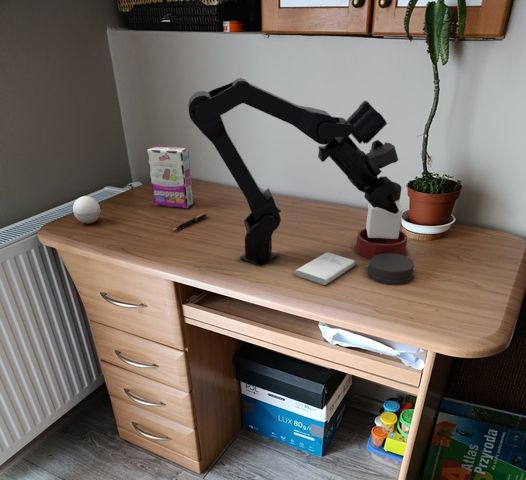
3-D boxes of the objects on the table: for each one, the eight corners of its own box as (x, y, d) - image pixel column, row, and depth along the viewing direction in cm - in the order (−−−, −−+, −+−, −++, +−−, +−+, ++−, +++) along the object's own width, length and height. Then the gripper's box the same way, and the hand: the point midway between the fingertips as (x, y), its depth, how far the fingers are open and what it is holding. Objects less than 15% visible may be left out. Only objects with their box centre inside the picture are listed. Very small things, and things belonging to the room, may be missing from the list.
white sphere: (70, 225, 143) (64, 199, 139) (87, 216, 149) (82, 191, 145) (99, 230, 140) (93, 204, 136) (115, 221, 146) (111, 195, 141)
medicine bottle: (394, 228, 127) (402, 179, 121) (398, 239, 122) (406, 188, 115) (365, 227, 128) (371, 178, 121) (367, 238, 122) (374, 187, 115)
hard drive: (295, 275, 117) (325, 257, 124) (325, 286, 112) (355, 266, 120) (295, 269, 116) (325, 251, 123) (325, 279, 111) (355, 260, 119)
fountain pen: (174, 233, 138) (173, 227, 137) (170, 232, 139) (170, 226, 138) (208, 217, 148) (207, 212, 147) (205, 216, 148) (204, 211, 147)
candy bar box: (194, 203, 157) (189, 147, 148) (187, 209, 153) (182, 151, 144) (161, 200, 160) (154, 145, 150) (153, 205, 156) (146, 149, 146)
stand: (402, 289, 111) (404, 276, 109) (358, 276, 116) (360, 264, 114) (421, 271, 118) (423, 259, 116) (379, 260, 123) (380, 248, 121)
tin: (392, 265, 121) (394, 249, 118) (347, 253, 126) (349, 237, 124) (412, 248, 128) (415, 233, 126) (369, 237, 134) (371, 222, 132)
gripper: (392, 141, 103) (435, 193, 111) (366, 122, 119) (404, 169, 126) (350, 182, 107) (394, 230, 114) (330, 158, 122) (369, 202, 130)
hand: (391, 206), depth 121 cm, fingers closed on medicine bottle, 8 cm apart
